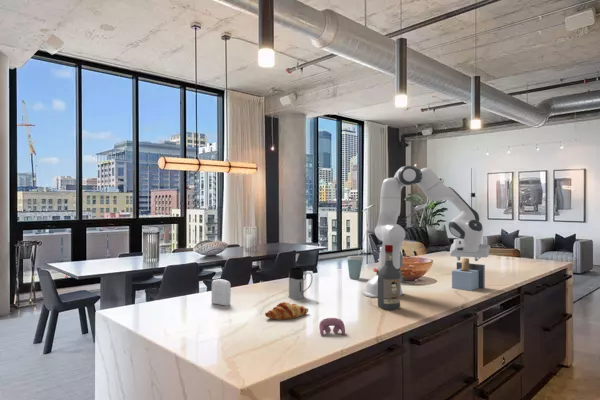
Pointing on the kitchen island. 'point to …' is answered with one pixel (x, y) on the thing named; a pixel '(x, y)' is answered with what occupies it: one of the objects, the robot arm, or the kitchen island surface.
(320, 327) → the video game controller
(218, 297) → the gravestone
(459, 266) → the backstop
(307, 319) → the kitchen island surface
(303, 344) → the kitchen island surface
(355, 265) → the disposable coffee cup
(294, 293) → the grey mug
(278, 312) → the croissant
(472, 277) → the socket block
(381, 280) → the liquor
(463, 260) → the dowel
